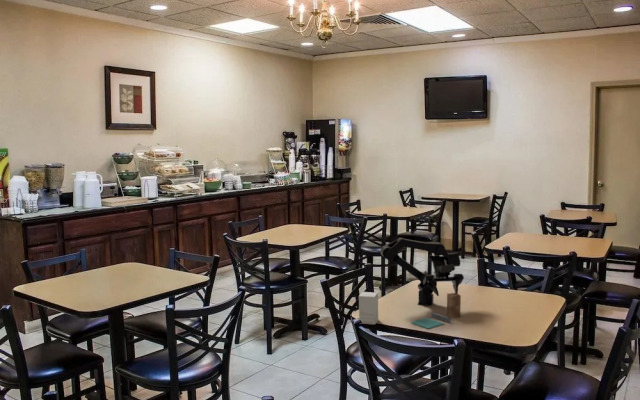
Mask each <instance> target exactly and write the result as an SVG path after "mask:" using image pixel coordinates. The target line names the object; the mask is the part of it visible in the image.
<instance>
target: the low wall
mask: <svg viewBox="0 0 640 400" xmlns="http://www.w3.org/2000/svg"><path fill="white" fill-rule="evenodd" d="M432 318H433V319H435V320H438V321H439V320H440V321H441V322H442V321H443V322H444V323H445V322H446V323H448V324H449V323H451V318H450V317H449V316H447V315H443V314H439V313H435V312H431V319H432Z"/></svg>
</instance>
